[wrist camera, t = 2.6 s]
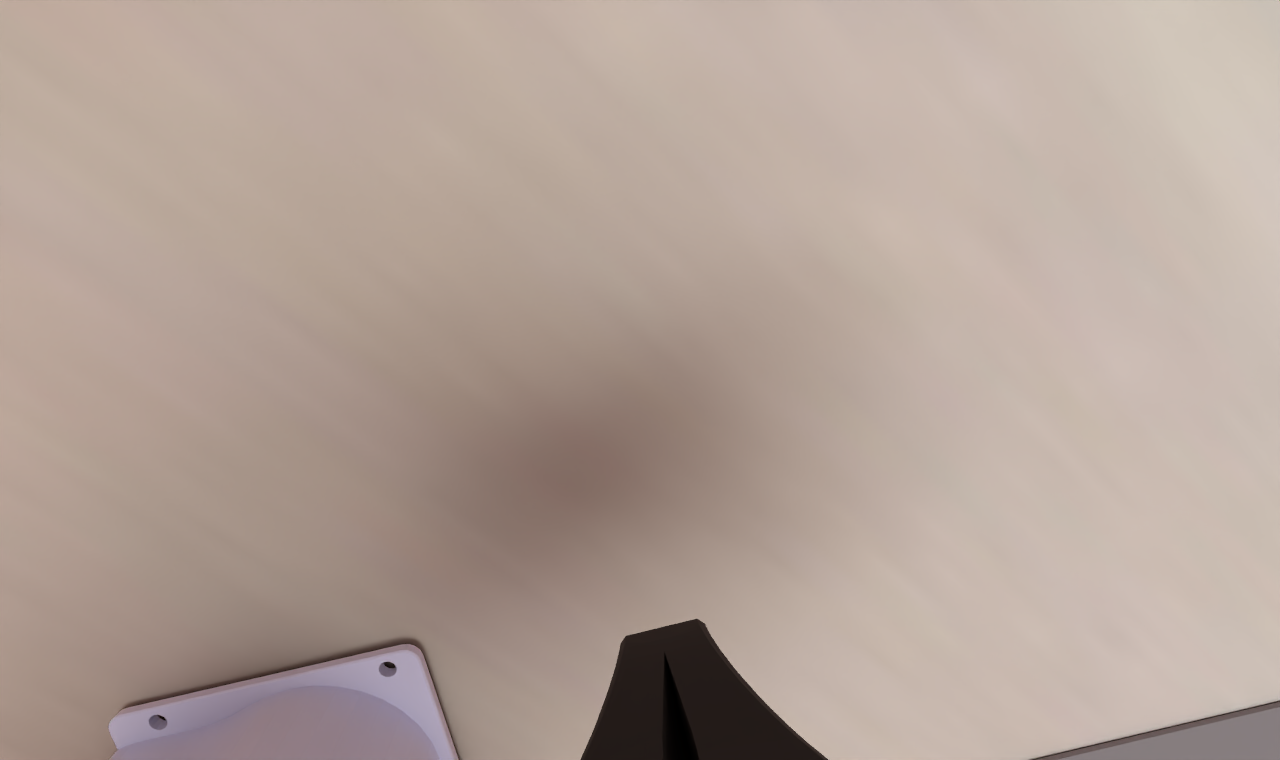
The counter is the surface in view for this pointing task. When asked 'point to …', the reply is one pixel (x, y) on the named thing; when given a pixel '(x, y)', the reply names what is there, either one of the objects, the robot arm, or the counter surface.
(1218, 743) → the mat
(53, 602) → the counter surface
